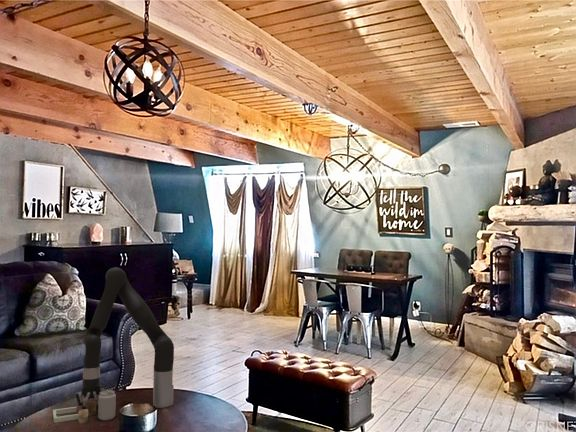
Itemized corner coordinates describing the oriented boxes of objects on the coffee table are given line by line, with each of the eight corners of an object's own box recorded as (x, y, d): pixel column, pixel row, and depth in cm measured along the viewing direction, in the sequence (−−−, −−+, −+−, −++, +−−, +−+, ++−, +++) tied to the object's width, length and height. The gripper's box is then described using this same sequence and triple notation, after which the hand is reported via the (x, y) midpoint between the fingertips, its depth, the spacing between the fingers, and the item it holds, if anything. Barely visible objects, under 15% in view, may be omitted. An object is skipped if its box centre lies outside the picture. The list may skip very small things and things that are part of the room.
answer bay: (76, 410, 231) (76, 406, 231) (78, 419, 221) (78, 414, 221) (52, 414, 226) (52, 409, 226) (53, 422, 216) (54, 418, 216)
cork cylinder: (87, 419, 221) (87, 408, 221) (88, 422, 217) (88, 411, 217) (77, 421, 219) (78, 409, 219) (78, 424, 215) (79, 412, 215)
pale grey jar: (109, 422, 218) (110, 395, 219) (94, 420, 220) (95, 393, 220) (118, 415, 226) (119, 389, 226) (104, 414, 227) (104, 388, 227)
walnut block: (95, 411, 231) (95, 401, 231) (96, 414, 227) (96, 404, 227) (84, 413, 229) (85, 403, 229) (85, 416, 225) (86, 406, 225)
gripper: (106, 372, 235) (105, 408, 234) (74, 376, 228) (73, 412, 228) (108, 376, 228) (107, 413, 228) (75, 380, 222) (74, 418, 221)
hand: (90, 412), depth 228 cm, fingers open, 4 cm apart
